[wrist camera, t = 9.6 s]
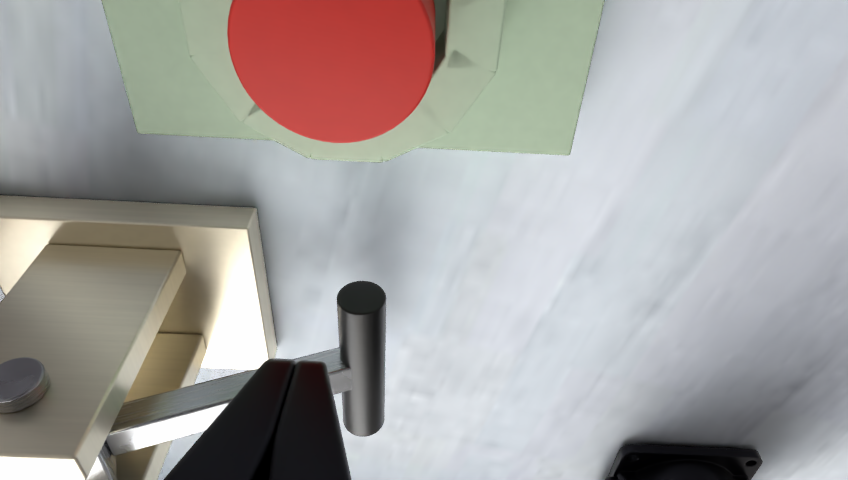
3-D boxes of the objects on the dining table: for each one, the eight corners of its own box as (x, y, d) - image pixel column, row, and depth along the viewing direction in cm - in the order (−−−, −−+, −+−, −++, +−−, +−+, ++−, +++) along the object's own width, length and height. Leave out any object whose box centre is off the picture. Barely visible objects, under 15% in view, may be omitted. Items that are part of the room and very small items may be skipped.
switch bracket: (257, 206, 21) (166, 437, 14) (277, 348, 25) (216, 577, 18) (-17, 193, 20) (-249, 419, 13) (52, 338, 25) (-97, 565, 18)
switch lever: (372, 266, 19) (398, 318, 17) (372, 388, 23) (394, 441, 21) (-45, 357, 16) (-64, 434, 14) (35, 483, 19) (28, 557, 18)
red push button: (441, -79, 12) (442, -53, 11) (430, 105, 15) (429, 149, 13) (239, -90, 12) (209, -67, 11) (262, 97, 15) (241, 139, 13)
